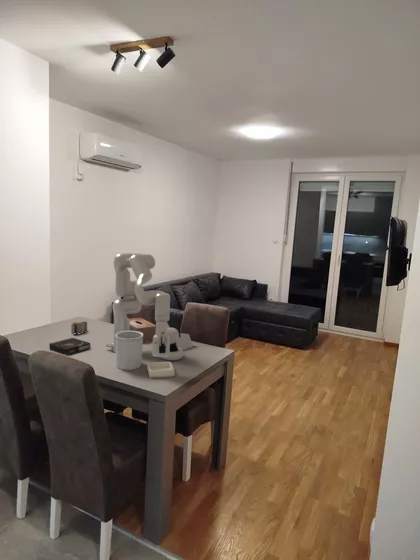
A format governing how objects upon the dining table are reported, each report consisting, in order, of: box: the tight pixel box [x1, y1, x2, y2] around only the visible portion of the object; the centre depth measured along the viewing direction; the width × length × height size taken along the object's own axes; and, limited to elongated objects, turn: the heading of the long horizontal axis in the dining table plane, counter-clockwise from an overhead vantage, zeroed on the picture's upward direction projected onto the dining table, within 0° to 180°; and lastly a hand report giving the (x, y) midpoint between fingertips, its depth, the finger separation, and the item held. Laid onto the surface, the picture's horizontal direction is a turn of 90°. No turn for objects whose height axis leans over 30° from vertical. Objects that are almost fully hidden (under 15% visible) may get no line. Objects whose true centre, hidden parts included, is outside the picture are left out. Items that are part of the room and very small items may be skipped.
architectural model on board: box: [70, 320, 88, 336], centre depth 257 cm, size 11×3×10 cm, turn 150°
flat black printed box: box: [48, 337, 92, 356], centre depth 224 cm, size 16×17×4 cm
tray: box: [146, 361, 175, 379], centre depth 194 cm, size 13×13×4 cm
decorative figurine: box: [160, 323, 185, 362], centre depth 218 cm, size 15×15×20 cm
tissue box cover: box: [128, 317, 156, 343], centre depth 257 cm, size 26×14×10 cm, turn 36°
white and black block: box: [176, 333, 194, 351], centre depth 237 cm, size 17×5×10 cm, turn 142°
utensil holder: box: [115, 331, 144, 371], centre depth 202 cm, size 15×15×18 cm
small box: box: [152, 335, 170, 358], centre depth 193 cm, size 8×6×10 cm
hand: (161, 350), depth 193 cm, fingers closed on small box, 7 cm apart
